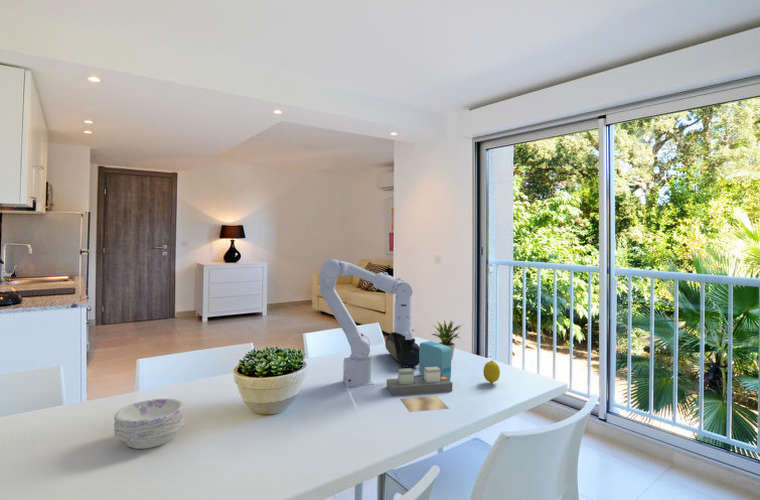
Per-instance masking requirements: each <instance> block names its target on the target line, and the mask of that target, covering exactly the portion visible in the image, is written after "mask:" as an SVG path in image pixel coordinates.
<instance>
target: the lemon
mask: <svg viewBox="0 0 760 500" xmlns="http://www.w3.org/2000/svg"><path fill="white" fill-rule="evenodd" d="M482 371H483V377H484V379H485V380H486V381H487V382H489V383H490V384H494V383H495V382H497V381H498V380H499V378H500V375H501V370H500V366H499V365H498V363H497V362H495V361H494V360H492V359H491V360H490V361H486V363H484V366H483V370H482Z"/></svg>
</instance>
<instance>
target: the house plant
mask: <svg viewBox="0 0 760 500" xmlns="http://www.w3.org/2000/svg"><path fill="white" fill-rule="evenodd" d="M436 322H437V324H438V327H437V326H436V325H434V324H433V327H434V328H435V329H436V330H437V332H438V333H439V334H436V333H433V334H431V336H436V337H438V338H439V339H440V340H441V341H440V342H438V343H439V344H442V345H446V346H449V347H450V349H451V361H452V360H453V357H454V353H455V347H456V343H455V342H453V341H454V340H455V338H456V339H460V340H461V338H460V337H461V336H459V334H460V332H457V333H455V332H456V331H457V330H459V329H460V328H462V327H463V326H464V324H459V325H457V326H455V327H454V328H453V325H454V321H453V320H452V319H451V320H450V322H449V324H448V326H447V323H446V320H445V319H443V322H444V324H441V322H439V321H436ZM452 328H453V329H452Z"/></svg>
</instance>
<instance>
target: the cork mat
mask: <svg viewBox="0 0 760 500" xmlns="http://www.w3.org/2000/svg"><path fill="white" fill-rule="evenodd" d="M400 402H402V403H403V406H405V408H406V409H407V411H409V412H410V413H413V412H424V411H435V410H437V411H438V410H448V409H450V408H449V406H447V405H446V404H445V402H443V400H442V399H441V398H440V397H439V396H437V395H431V396H418V397H408V398H407V397H406V398H400Z"/></svg>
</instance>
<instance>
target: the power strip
mask: <svg viewBox="0 0 760 500" xmlns="http://www.w3.org/2000/svg"><path fill="white" fill-rule="evenodd" d="M386 388H387V390H388V391H389V393H390V394H391V395H392V396H393V397H395V396H407V395H420V394H433V393H444V392H446V393H447V392H453V382H452V381H451V379H450V380H448V379H447V378H446V377H445V376H444V375H440V382H430V383H426V382H425V381H424V376H416V377H415V376H414V384H403V385H399V383H398V377H397V378H387V379H386Z"/></svg>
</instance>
